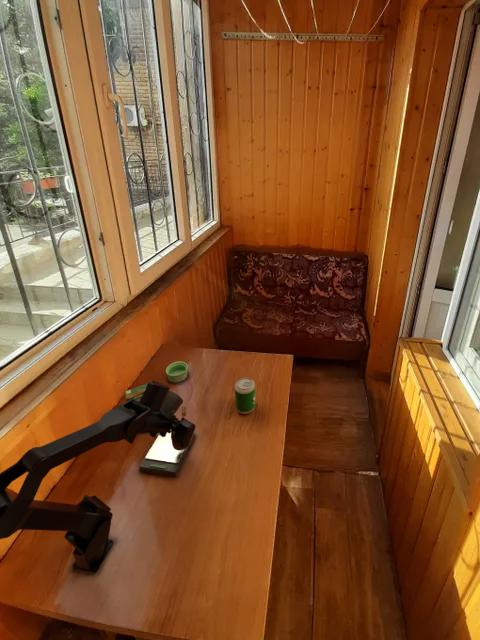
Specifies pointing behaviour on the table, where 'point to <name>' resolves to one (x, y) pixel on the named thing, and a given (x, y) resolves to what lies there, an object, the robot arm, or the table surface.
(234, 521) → the table surface
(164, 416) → the robot arm
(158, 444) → the kitchen scale
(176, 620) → the table surface
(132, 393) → the coffee box
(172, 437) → the utensil holder
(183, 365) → the ramekin
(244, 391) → the soda can
